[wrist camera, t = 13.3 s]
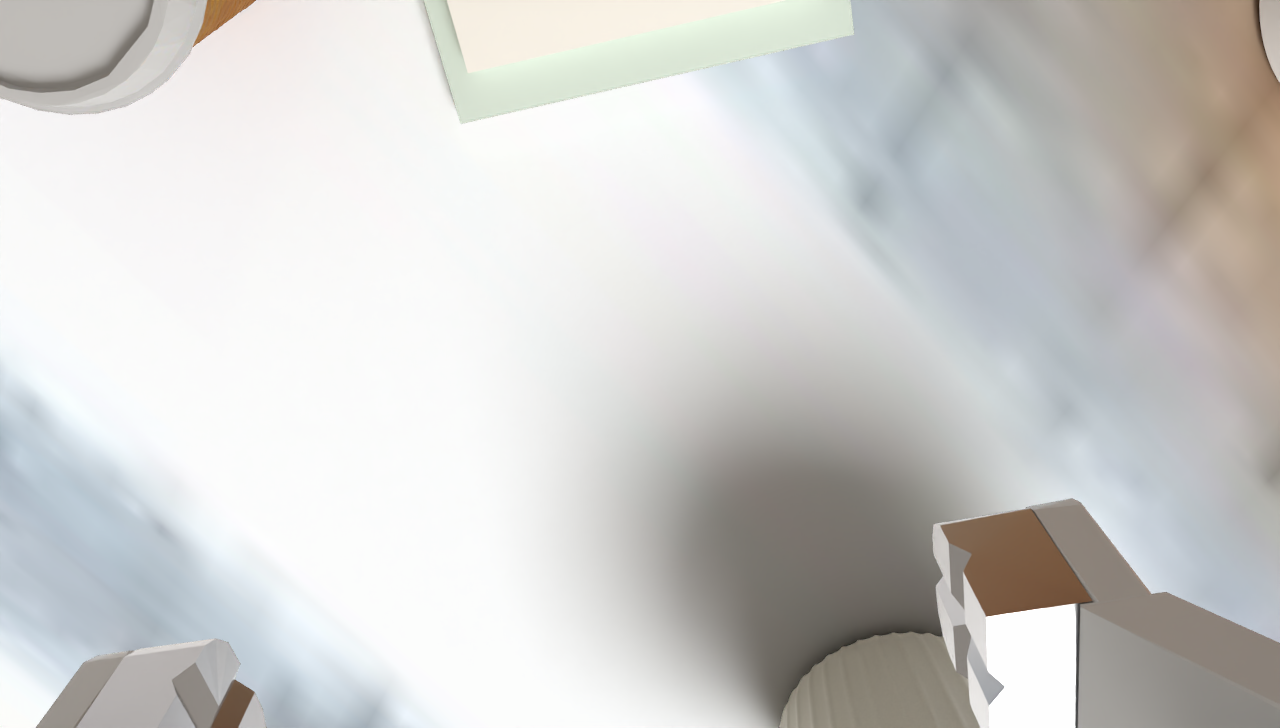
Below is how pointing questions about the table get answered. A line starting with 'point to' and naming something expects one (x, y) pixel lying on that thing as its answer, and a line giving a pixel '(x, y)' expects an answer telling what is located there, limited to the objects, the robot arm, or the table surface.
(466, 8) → the cover
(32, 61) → the disposable coffee cup
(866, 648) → the canister
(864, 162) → the table surface
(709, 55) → the mat
